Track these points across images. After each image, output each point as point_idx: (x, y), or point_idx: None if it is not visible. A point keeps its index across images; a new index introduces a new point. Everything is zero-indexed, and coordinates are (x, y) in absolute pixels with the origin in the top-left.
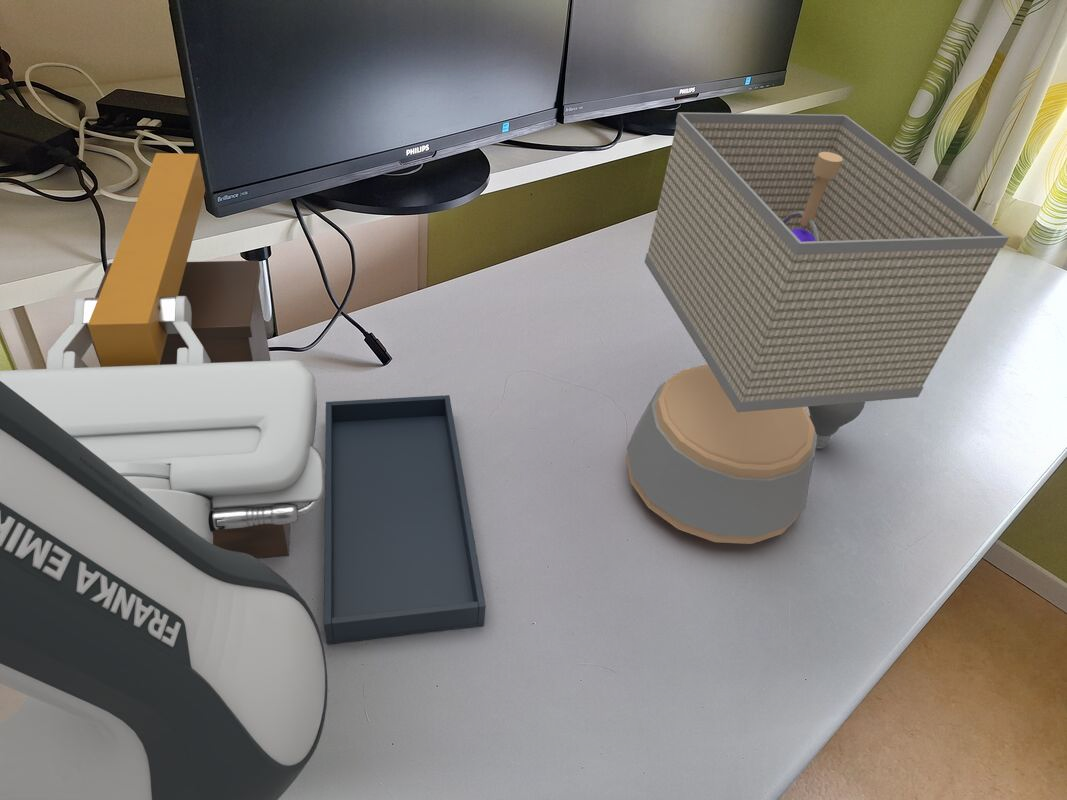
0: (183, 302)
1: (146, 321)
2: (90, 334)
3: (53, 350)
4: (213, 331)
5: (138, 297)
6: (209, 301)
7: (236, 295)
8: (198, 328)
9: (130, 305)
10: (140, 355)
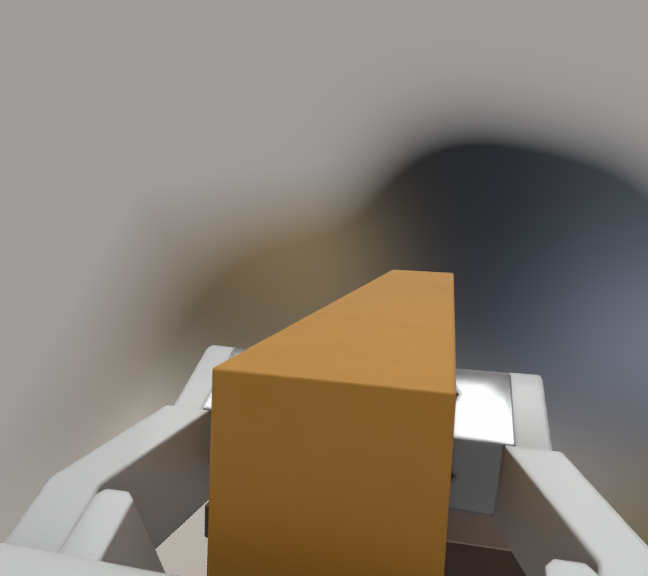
0: (539, 389)
1: (447, 388)
2: None
3: (70, 477)
4: (494, 561)
5: (398, 343)
6: None
7: None
8: (459, 545)
9: (374, 352)
10: (374, 562)
